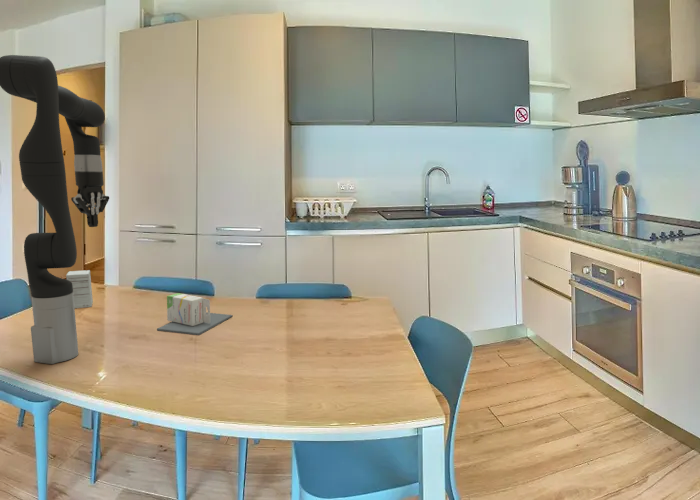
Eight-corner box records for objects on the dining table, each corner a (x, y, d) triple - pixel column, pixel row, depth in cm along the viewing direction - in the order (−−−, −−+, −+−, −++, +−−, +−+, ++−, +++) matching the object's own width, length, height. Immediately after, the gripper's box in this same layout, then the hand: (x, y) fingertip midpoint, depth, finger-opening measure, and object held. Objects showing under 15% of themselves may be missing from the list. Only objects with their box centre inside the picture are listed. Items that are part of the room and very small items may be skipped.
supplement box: (70, 304, 175) (68, 271, 173) (93, 302, 178) (90, 269, 176) (68, 309, 168) (65, 275, 166) (91, 307, 171) (89, 273, 169)
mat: (199, 335, 142) (199, 333, 142) (157, 330, 146) (156, 328, 146) (232, 316, 161) (232, 314, 161) (194, 312, 165) (194, 311, 165)
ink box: (165, 295, 152) (198, 301, 145) (178, 292, 156) (210, 298, 149) (166, 321, 153) (199, 328, 146) (178, 317, 157) (211, 324, 150)
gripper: (81, 170, 135) (85, 229, 138) (115, 170, 148) (118, 225, 151) (60, 170, 137) (65, 228, 140) (95, 170, 150) (99, 224, 153)
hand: (93, 226), depth 145 cm, fingers closed
